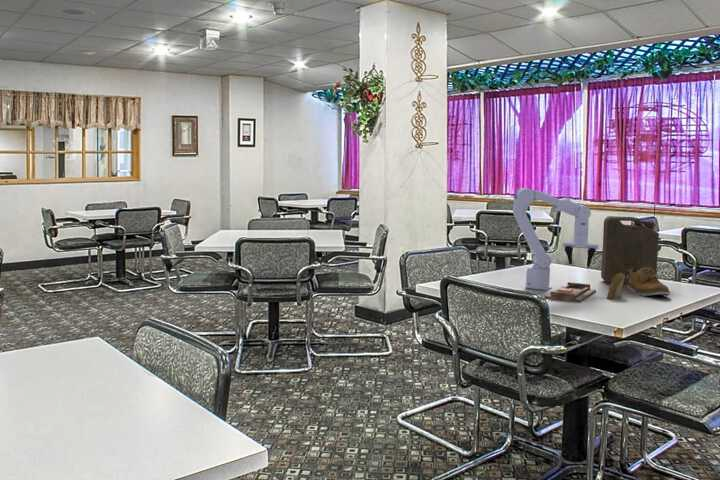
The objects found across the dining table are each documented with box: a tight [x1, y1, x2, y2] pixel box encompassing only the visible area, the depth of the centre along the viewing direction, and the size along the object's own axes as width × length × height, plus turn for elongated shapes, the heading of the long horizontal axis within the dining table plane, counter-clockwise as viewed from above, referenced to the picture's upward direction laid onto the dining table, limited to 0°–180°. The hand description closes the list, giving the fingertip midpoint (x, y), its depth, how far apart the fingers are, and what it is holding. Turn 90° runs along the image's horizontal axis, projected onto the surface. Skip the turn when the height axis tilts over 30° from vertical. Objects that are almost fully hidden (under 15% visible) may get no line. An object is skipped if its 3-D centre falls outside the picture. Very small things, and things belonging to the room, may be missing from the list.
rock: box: [606, 273, 625, 300], centre depth 269 cm, size 11×9×10 cm
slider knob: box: [557, 287, 573, 293], centre depth 264 cm, size 5×4×2 cm
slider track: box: [544, 281, 597, 303], centre depth 272 cm, size 14×26×3 cm, turn 148°
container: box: [600, 215, 660, 285], centre depth 300 cm, size 22×10×30 cm, turn 81°
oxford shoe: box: [626, 266, 671, 297], centre depth 277 cm, size 28×10×11 cm, turn 3°
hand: (579, 264), depth 285 cm, fingers open, 7 cm apart
